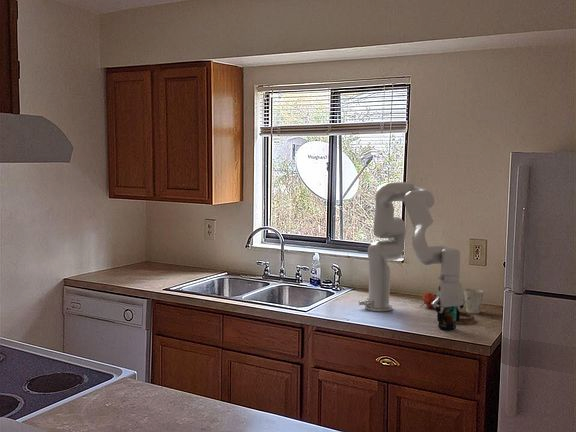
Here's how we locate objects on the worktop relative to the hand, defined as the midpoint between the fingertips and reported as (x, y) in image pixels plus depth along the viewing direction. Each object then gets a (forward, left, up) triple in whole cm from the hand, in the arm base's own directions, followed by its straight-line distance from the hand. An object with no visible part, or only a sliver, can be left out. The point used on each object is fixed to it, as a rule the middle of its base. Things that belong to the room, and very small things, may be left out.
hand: (448, 320), depth 262 cm
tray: (+13, +11, -3) cm, 17 cm away
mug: (+27, +23, -4) cm, 36 cm away
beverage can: (0, +1, -4) cm, 4 cm away
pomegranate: (+13, +35, -4) cm, 37 cm away
